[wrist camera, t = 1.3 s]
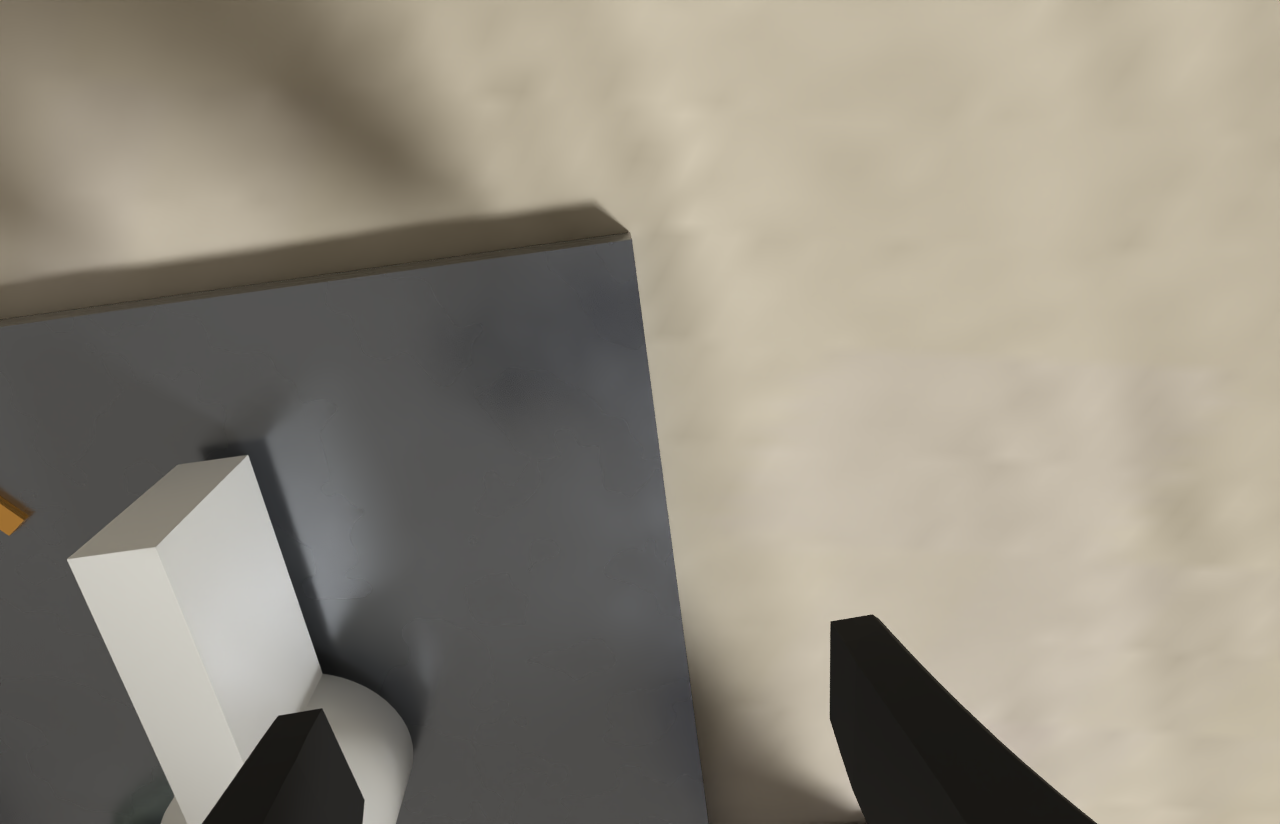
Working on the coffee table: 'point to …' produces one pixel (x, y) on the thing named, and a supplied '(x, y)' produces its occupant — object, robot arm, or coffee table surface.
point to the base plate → (372, 526)
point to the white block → (223, 640)
